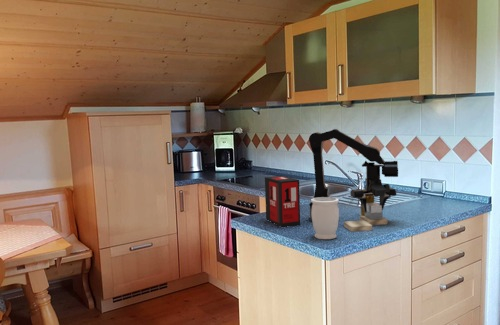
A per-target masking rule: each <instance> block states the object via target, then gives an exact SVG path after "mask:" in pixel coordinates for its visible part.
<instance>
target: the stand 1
mask: <svg viewBox="0 0 500 325" xmlns="http://www.w3.org/2000/svg"><path fill="white" fill-rule="evenodd" d="M343 227H344V228H346V230H348V231H349V232H354V233H355V232H365V231H367V232H368V231H373V225H371V224H369V223H368V222H366V221H364V220H363V221H360V220H348V221H343Z"/></svg>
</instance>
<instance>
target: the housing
mask: <svg viewBox="0 0 500 325" xmlns="http://www.w3.org/2000/svg"><path fill="white" fill-rule="evenodd" d="M366 207H367V213H365V217H367V218H368V219H370V220H380V219H383V217H384V216H383V210H382V205H380V203H377V202H374V203H366Z"/></svg>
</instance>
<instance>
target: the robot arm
mask: <svg viewBox="0 0 500 325" xmlns="http://www.w3.org/2000/svg"><path fill="white" fill-rule="evenodd" d="M333 139H335V140H337V141H338V142H340V143H342V144H344V145H346V146H347V147H350V148H352V149H353V150H354V151H356V152H358V153H359V154H361V156H362V157H364V158H365V159H367V160H368V161H369V162H368V161H367V160H365V161H364V162H363V163H362V164H361V167H366V169H365V171H366V173H365V176H366V178H365V182H366V186H365V188H364V189H365V190H366V191H362V190H363V189H360V188H358V189H351V190H350V197H353V198H354V199H358V200H359V203H360V205H361V204H362V207H363V209H364V212H365V213H367V207H366V200H367V198H365V195H374V198H376V197H379V204H380V205H382V211H383V210H384V207H385V204H386V203H387V200H388V199H391V197H395V196H397V190H396V189H395V188H393V187H391V185H390V184H389V183H385V184H383V183H382V179H381V175H383V176H384V177H385V178H398V177H399V168H398V167H399V166H398V160H393V161H391V160H389V161H385V159H384V158H382V156H381V152H380V150H379V149H378V148H377V147H375V146H371V145H369V144H366V143H362V142H360V141H358V140H357V139H355V138H353V137H351V136H349V135H347V134H346V133H344V132H342V131H341V130H339V129H338V128H334V129H332V130H329V131H325V132H318V131H317V132H313V133H311V134H310V135H309V138H308V141H309V146H310V149H311V151H312V156H313V165H314V166H313V167H314V175H315V176H314V177H315V178H314V179H315V187H314V196H313V198H318V197H330V196H331V194H330V186H327V185H326V183H325V170H324V160H323V150H324V149H323V148H324V142H326V141H330V140H333ZM375 163H377V164H375ZM312 205H313V203H312V202H311V201H310V203H309V218H308V219H309V221H310V222H312V216H311V211H312Z"/></svg>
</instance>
